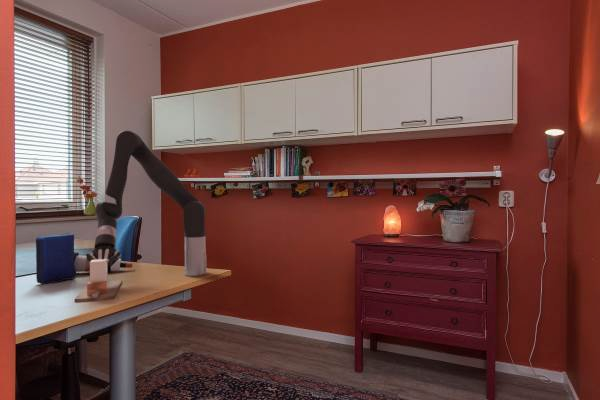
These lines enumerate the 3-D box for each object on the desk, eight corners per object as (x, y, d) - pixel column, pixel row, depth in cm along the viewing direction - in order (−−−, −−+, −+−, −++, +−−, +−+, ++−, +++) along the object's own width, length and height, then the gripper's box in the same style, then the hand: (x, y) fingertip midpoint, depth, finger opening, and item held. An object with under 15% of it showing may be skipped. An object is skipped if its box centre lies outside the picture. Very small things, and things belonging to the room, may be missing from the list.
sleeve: (107, 287, 142) (107, 258, 142) (105, 290, 138) (105, 261, 138) (92, 288, 141) (92, 259, 141) (90, 292, 136) (89, 262, 136)
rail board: (121, 282, 156) (121, 270, 156) (113, 298, 132) (113, 284, 132) (89, 285, 152) (88, 272, 152) (74, 302, 128) (74, 287, 128)
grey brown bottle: (130, 280, 180) (131, 263, 176) (47, 278, 169) (46, 260, 165) (133, 267, 189) (134, 250, 184) (54, 264, 178) (54, 246, 173)
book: (71, 277, 167) (70, 232, 166) (77, 278, 164) (77, 233, 164) (34, 284, 154) (34, 235, 154) (41, 285, 151) (40, 236, 151)
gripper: (86, 233, 151) (80, 270, 140) (122, 232, 156) (120, 267, 145) (89, 245, 156) (83, 281, 145) (124, 243, 161) (121, 278, 150)
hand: (101, 274), depth 145 cm, fingers closed
